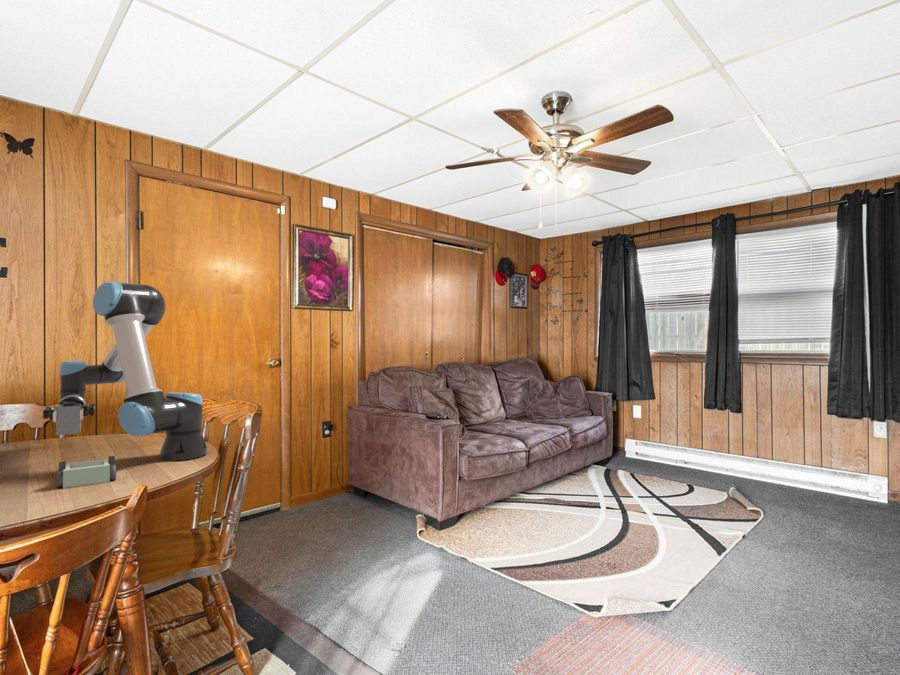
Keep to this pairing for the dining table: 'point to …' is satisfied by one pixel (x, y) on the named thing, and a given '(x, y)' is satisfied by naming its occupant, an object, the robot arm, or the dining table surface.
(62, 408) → the grey upright block
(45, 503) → the dining table surface
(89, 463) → the toy car chassis
